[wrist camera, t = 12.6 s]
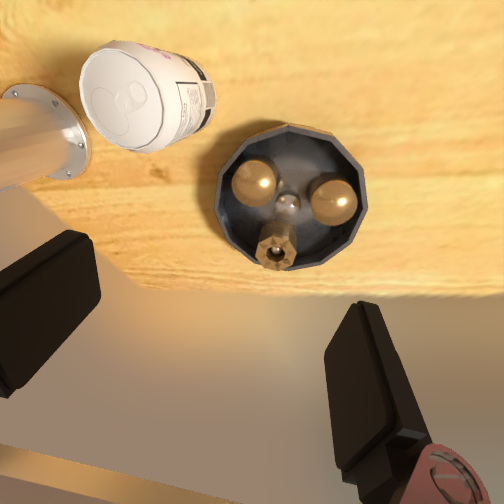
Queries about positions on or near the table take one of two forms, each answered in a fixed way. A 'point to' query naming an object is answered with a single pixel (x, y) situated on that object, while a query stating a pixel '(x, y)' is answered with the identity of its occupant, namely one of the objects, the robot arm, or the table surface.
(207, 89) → the supplement can
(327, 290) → the table surface
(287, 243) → the tan hollow faceted cylinder
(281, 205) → the tray
